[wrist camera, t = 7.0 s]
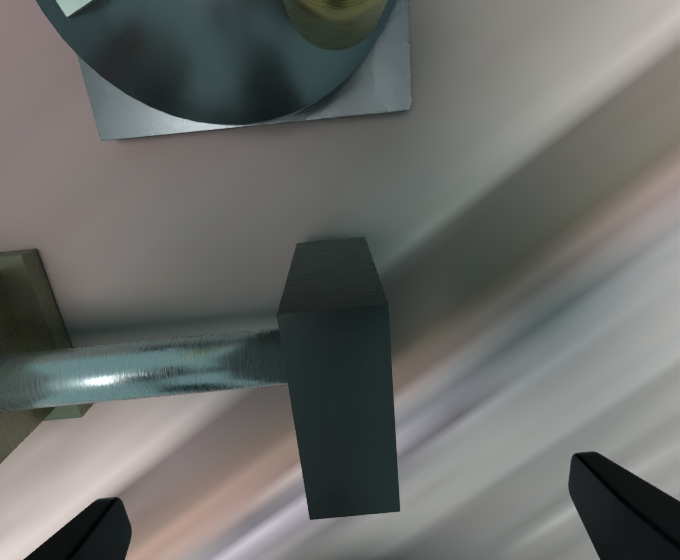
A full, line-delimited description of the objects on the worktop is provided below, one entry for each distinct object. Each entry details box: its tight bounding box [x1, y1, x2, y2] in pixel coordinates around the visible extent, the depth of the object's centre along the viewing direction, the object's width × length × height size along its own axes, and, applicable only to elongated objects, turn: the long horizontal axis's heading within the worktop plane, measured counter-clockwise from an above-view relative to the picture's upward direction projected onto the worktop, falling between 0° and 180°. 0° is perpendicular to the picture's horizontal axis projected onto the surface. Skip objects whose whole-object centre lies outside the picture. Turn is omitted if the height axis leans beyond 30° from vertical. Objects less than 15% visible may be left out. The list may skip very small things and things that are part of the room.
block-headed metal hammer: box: [0, 237, 400, 520], centre depth 13 cm, size 6×18×6 cm, turn 95°
